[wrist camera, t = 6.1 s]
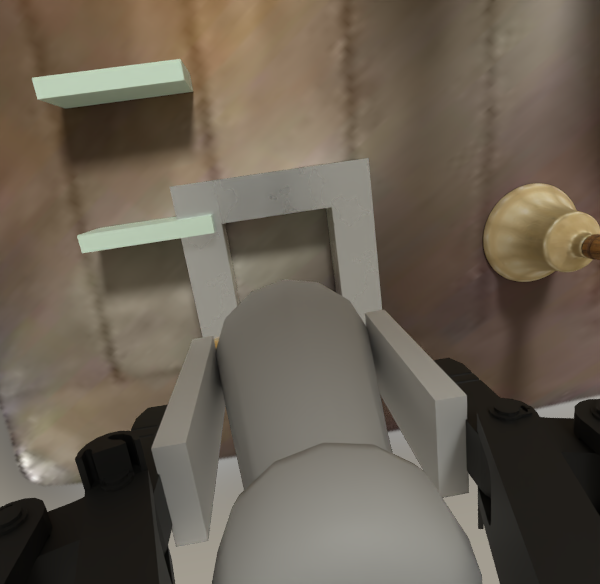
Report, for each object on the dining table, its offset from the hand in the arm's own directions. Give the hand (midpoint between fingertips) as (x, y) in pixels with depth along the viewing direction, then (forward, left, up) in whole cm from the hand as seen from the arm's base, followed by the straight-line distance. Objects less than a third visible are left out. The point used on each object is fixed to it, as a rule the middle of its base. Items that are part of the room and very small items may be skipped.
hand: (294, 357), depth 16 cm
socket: (0, +1, -19) cm, 19 cm away
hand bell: (+1, +22, -19) cm, 29 cm away
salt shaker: (0, 0, -3) cm, 3 cm away
